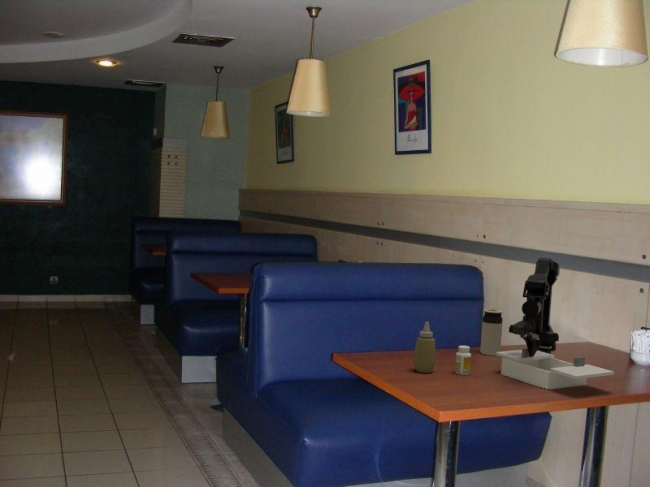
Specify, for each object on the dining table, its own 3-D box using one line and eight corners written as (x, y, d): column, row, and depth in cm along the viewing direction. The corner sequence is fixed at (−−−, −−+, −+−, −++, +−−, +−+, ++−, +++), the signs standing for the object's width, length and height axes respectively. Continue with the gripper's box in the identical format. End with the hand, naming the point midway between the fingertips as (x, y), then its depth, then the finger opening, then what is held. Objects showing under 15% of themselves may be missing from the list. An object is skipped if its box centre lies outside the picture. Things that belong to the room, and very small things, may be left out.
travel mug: (479, 354, 299) (482, 310, 298) (481, 351, 307) (484, 308, 305) (499, 356, 297) (502, 312, 295) (500, 353, 304) (503, 309, 303)
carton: (538, 370, 277) (539, 354, 276) (585, 384, 258) (587, 367, 257) (500, 374, 267) (502, 357, 266) (547, 389, 248) (548, 372, 248)
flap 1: (531, 351, 279) (532, 341, 279) (554, 357, 270) (554, 347, 269) (495, 354, 270) (496, 344, 270) (517, 361, 260) (518, 350, 260)
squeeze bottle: (438, 370, 267) (441, 321, 266) (431, 375, 260) (434, 324, 259) (416, 367, 271) (419, 319, 269) (409, 371, 263) (412, 322, 262)
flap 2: (587, 367, 257) (588, 355, 257) (613, 374, 247) (614, 362, 247) (550, 371, 247) (550, 359, 247) (576, 379, 238) (577, 367, 238)
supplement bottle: (471, 372, 267) (472, 346, 266) (468, 375, 262) (470, 348, 261) (456, 370, 269) (457, 344, 268) (453, 373, 264) (455, 347, 263)
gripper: (498, 310, 264) (496, 352, 266) (538, 319, 249) (535, 364, 250) (521, 308, 270) (518, 350, 271) (561, 317, 254) (558, 362, 255)
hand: (531, 356), depth 262 cm, fingers closed
